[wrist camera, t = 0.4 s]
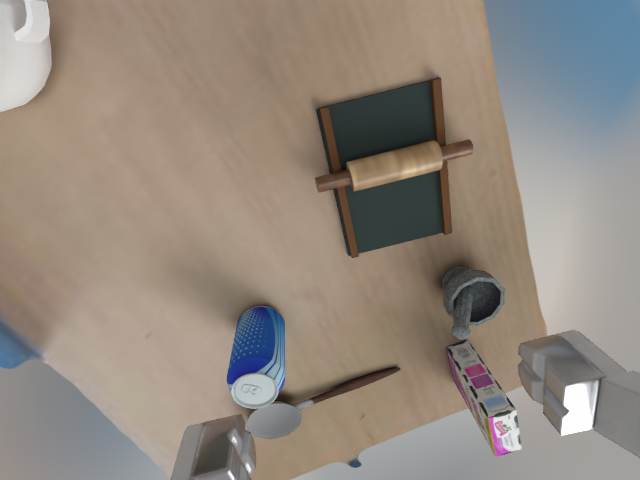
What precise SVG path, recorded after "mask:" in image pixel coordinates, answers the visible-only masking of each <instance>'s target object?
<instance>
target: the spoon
mask: <svg viewBox="0 0 640 480" xmlns="http://www.w3.org/2000/svg"><path fill="white" fill-rule="evenodd" d="M399 370H400V368H392V369H388V370H384V371H380V372H377V373H373V374H370V375H367V376H364V377H361V378H358V379H355V380H353V381H350V382H347V383H345V384H343V385H340V386H338V387H336V388H334V389H332V390H330V391H328V392H325V393H323V394H320V395H318V396H315V397H313V398H310V399H307V400H304V401H302V402H299V403H296V404H292V405H291V404H288V403H285V402H280V401H274V402H272V403H271V404H270V405H268V406H266V407H263V408H257V409H256V410H254V411H253V412H252V413H251V415H250V416H249V418H248V420H247V428H248V430H249V432H250V433H251V434H253V435H254V436H256V437H259V438H264V439H275V438H280V437H283V436H286V435H288V434H290V433H292V432H293V431H294V430H295V429H296V428H297V427H298V426H299V424H300V422H301V414H300V412H299V410H301V409H303V408H305V407H307V406H310V405H312V404H315V403H318V402H320V401H323V400H325V399H328V398H331V397H334V396H337V395H340V394H343V393H346V392H349V391H352V390H354V389H357V388H360V387H362V386H365V385H368V384H370V383H373V382H375V381H377V380H380V379H382V378H384V377H387V376H389V375H391V374H393V373H396V372H397V371H399Z"/></svg>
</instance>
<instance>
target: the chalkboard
mask: <svg viewBox="0 0 640 480" xmlns="http://www.w3.org/2000/svg"><path fill="white" fill-rule="evenodd" d="M316 110H317V115H318V120H319V124H320V129H321V133H322V138H323V142H324V147H325V151H326V156H327V160H328V165H329V170H330V174H333V173H337V172H341V171H345V170H347V167H346V163H347V162H349V161H353V160H357V159H361V158H365V157H369V156H373V155H377V154H381V153H385V152H389V151H393V150H397V149H401V148H405V147H409V146H413V145H417V144H421V143H425V142H428V141H432V140H435V141H437V143H438V144H439V146H444V145H446V142H445V128H444V114H443V100H442V87H441V78H437V79H433V80H429V81H425V82H421V83H417V84H413V85H409V86H405V87H401V88H397V89H393V90H390V91H386V92H382V93H378V94H374V95H370V96H366V97H362V98H358V99H354V100H350V101H346V102H342V103H338V104H334V105H330V106H326V107H322V108H318V109H316ZM334 192H335V197H336V201H337V206H338V211H339V215H340V220H341V224H342V229H343V233H344V238H345V242H346V247H347V251H348V255H349V256H351V257H352V258H354V257H358V256H359V253H363V252H367V251H371V250H375V249H379V248H383V247H387V246H391V245H395V244H399V243H403V242H407V241H411V240H415V239H419V238H423V237H427V236H431V235H435V234H439V233H444V234H445V235H446V234H450V233H452V225H451V211H450V197H449V183H448V169H447V161H443V163H442V168H441V169H440V170H438V171H434V172H430V173H426V174H422V175H418V176H414V177H410V178H406V179H402V180H398V181H394V182H390V183H386V184H382V185H378V186H374V187H370V188H366V189H362V190H358V191H354V192H353V190H352V188H351V185H348V186H344V187H340V188H336V189H334Z"/></svg>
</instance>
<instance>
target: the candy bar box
mask: <svg viewBox="0 0 640 480" xmlns="http://www.w3.org/2000/svg"><path fill="white" fill-rule="evenodd" d="M447 352H448V356H449V360H450V364H451V368H452V372H453V376H454V380H455V384H456V386H457V388H458V389H459V391H460V393H461V395H462V397H463V398H464V400H465V402H466V404H467V406H468V407H469V409H470V411H471V413H472V415H473V416H474V418H475V420H476V422H477V424H478V426H479V428H480V429H481V431H482V433H483V435H484V437H485V439H486V440H487V442H488V444H489V446H490V447H491V449H492V451H493V453H494V455H495V457H497V456H501V455H505V454H508V453H511V452H514V451H517V450H521V442H520V434H519V427H518V419H517V412H516V409H515V407H514V406H513V404H512V403H511V402H510V400H509V399H508V397H507V396H506V394H505V393H504V391H503V390H502V389H501V387H500V386H499V384H498V383H497V381H496V380H495V378H494V377H493V375H492V374H491V373H490V371H489V370H488V368H487V367H486V365H485V364H484V363H483V361H482V360H481V358H480V357H479V355H478V354H477V352H476V351H475V349H474V348H473V347H472V345H471V344H470V342H469V341H464V342H461V343H458V344H455V345H451V346H449V347H447Z"/></svg>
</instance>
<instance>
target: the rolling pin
mask: <svg viewBox="0 0 640 480" xmlns="http://www.w3.org/2000/svg"><path fill="white" fill-rule="evenodd" d="M472 153H473V144H472V142H471V141H470V140H464V141H460V142H456V143H452V144H448V145H444V146H439V144H438V143H437V141H435V140H432V141H428V142H425V143H421V144H417V145H413V146H409V147H405V148H401V149H397V150H393V151H389V152H385V153H381V154H377V155H373V156H369V157H365V158H361V159H357V160H353V161H349V162H347V163H346V167H347V170H345V171H341V172H337V173H333V174H329V175H325V176H321V177H317V178H315V180H316V185H317V189H318V192H319V193H320V192H324V191H328V190H332V189H336V188H340V187H344V186H348V185H351V188H352V190H353V192H354V191H358V190H362V189H366V188H370V187H374V186H378V185H382V184H386V183H390V182H394V181H398V180H402V179H406V178H410V177H414V176H418V175H422V174H426V173H430V172H434V171H438V170H440V169H441V168H442V163H443V161H447V160H451V159H455V158H459V157H463V156H467V155H471V154H472Z"/></svg>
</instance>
